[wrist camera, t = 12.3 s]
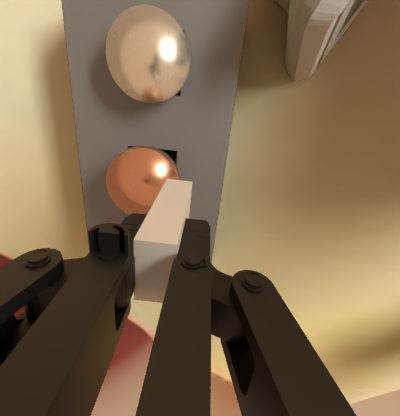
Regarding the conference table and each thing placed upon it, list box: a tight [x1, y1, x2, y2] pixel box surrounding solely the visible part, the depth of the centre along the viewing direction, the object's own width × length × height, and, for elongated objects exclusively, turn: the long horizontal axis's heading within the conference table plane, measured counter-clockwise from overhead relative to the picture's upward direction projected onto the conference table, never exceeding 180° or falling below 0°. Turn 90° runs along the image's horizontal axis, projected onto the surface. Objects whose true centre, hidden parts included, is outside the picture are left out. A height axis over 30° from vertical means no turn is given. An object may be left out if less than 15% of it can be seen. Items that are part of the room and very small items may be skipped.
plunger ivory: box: [106, 5, 190, 103], centre depth 17 cm, size 5×5×5 cm
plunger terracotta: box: [106, 145, 181, 215], centre depth 19 cm, size 5×5×5 cm
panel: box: [61, 0, 249, 261], centre depth 22 cm, size 24×12×5 cm, turn 174°
